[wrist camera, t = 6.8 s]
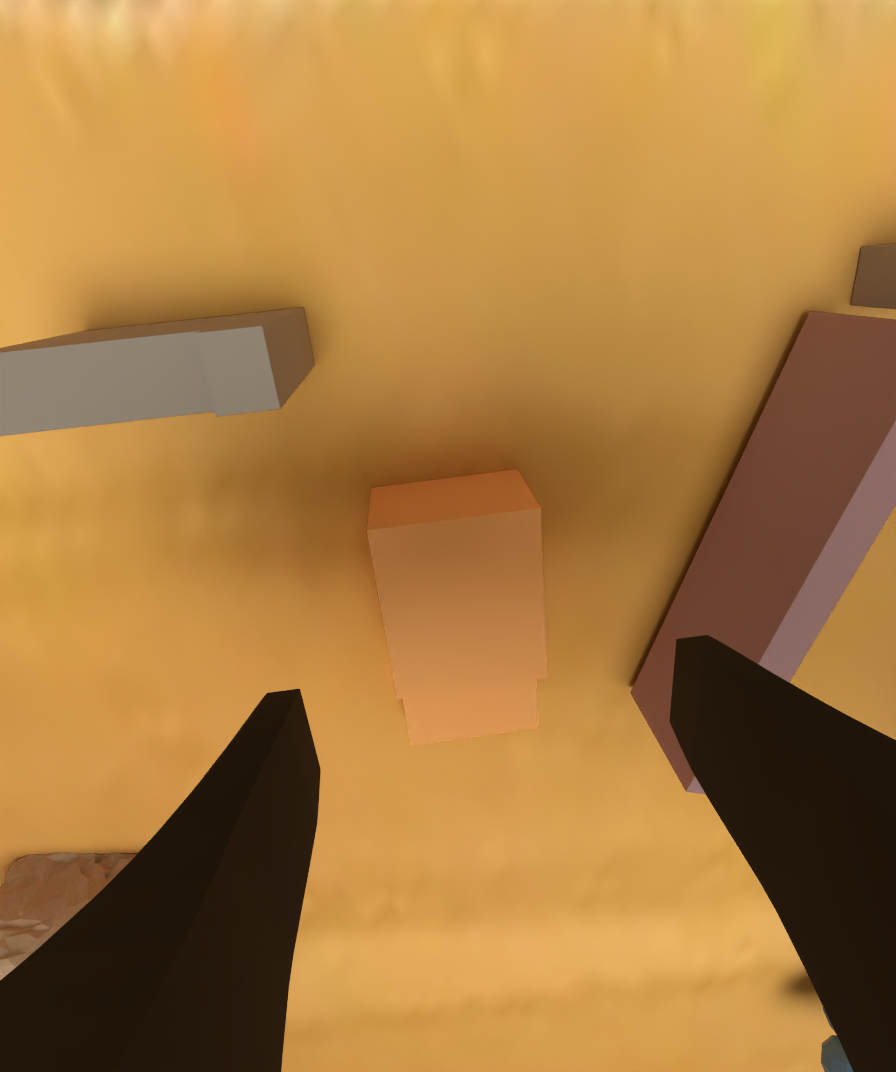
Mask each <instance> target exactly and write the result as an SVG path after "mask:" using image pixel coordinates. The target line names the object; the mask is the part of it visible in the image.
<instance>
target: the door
mask: <svg viewBox="0 0 896 1072" xmlns="http://www.w3.org/2000/svg"><path fill="white" fill-rule="evenodd" d="M895 505H896V320H894V319H884V318H875V317H865V316H855V315H845V314H836V313H826V312H816V311H810V312H809V314H808V316H807V319H806V321H805V323H804V325H803V327H802V329H801V331H800V333H799V336H798V338H797V340H796V342H795V344H794V346H793V348H792V350H791V353H790V355H789V357H788V359H787V361H786V363H785V365H784V367H783V370H782V372H781V374H780V376H779V378H778V380H777V382H776V384H775V387H774V389H773V391H772V393H771V395H770V397H769V399H768V401H767V404H766V406H765V408H764V410H763V412H762V414H761V416H760V418H759V421H758V423H757V425H756V427H755V429H754V431H753V433H752V435H751V438H750V440H749V442H748V444H747V446H746V448H745V450H744V452H743V455H742V457H741V459H740V461H739V463H738V465H737V467H736V469H735V472H734V474H733V476H732V478H731V480H730V482H729V484H728V486H727V489H726V491H725V493H724V495H723V497H722V499H721V501H720V503H719V506H718V508H717V510H716V512H715V514H714V516H713V518H712V520H711V523H710V525H709V527H708V529H707V531H706V533H705V535H704V537H703V540H702V542H701V544H700V546H699V548H698V550H697V552H696V554H695V557H694V559H693V561H692V563H691V565H690V567H689V569H688V571H687V574H686V576H685V578H684V580H683V582H682V584H681V586H680V588H679V591H678V593H677V595H676V597H675V599H674V601H673V603H672V605H671V608H670V610H669V612H668V614H667V616H666V618H665V620H664V622H663V625H662V627H661V629H660V631H659V633H658V635H657V637H656V639H655V642H654V644H653V646H652V648H651V650H650V652H649V654H648V656H647V659H646V661H645V663H644V665H643V667H642V669H641V671H640V673H639V676H638V678H637V680H636V682H635V684H634V686H633V688H632V690H631V695H632V696H633V698H634V700H635V702H636V703H637V705H638V707H639V709H640V711H641V712H642V714H643V716H644V718H645V719H646V721H647V723H648V725H649V727H650V728H651V730H652V732H653V734H654V735H655V737H656V739H657V741H658V743H659V744H660V746H661V748H662V750H663V751H664V753H665V755H666V757H667V759H668V760H669V762H670V764H671V766H672V767H673V769H674V771H675V773H676V775H677V776H678V778H679V780H680V782H681V783H682V785H683V787H684V789H685V791H686V792H693V793H700V794H705V792H704V790H703V789H702V787H701V785H700V784H699V782H698V780H697V779H696V777H695V775H694V774H693V772H692V770H691V768H690V766H689V764H688V762H687V760H686V758H685V755H684V753H683V751H682V749H681V747H680V745H679V742H678V740H677V738H676V735H675V733H674V731H673V729H672V726H671V724H670V722H669V720H670V708H671V696H672V684H673V672H674V661H675V649H676V639H679V638H687V637H695V636H702V635H709V636H711V637H713V638H714V639H716V640H718V641H720V642H722V643H723V644H725V645H727V646H729V647H730V648H732V649H734V650H735V651H737V652H739V653H740V654H742V655H744V656H745V657H747V658H749V659H750V660H752V661H754V662H755V663H757V664H759V665H760V666H762V667H764V668H765V669H767V670H769V671H770V672H772V673H774V674H775V675H777V676H779V677H780V678H782V679H784V680H786V681H787V682H790V681H791V679H792V677H793V676H794V674H795V672H796V671H797V669H798V667H799V666H800V664H801V662H802V661H803V659H804V657H805V656H806V654H807V652H808V651H809V649H810V647H811V646H812V644H813V642H814V641H815V639H816V637H817V636H818V634H819V632H820V631H821V629H822V627H823V626H824V624H825V622H826V621H827V619H828V617H829V616H830V614H831V612H832V611H833V609H834V607H835V606H836V604H837V602H838V601H839V599H840V597H841V596H842V594H843V592H844V591H845V589H846V587H847V585H848V584H849V582H850V580H851V579H852V577H853V575H854V574H855V572H856V570H857V569H858V567H859V565H860V564H861V562H862V560H863V559H864V557H865V555H866V554H867V552H868V550H869V549H870V547H871V545H872V544H873V542H874V540H875V539H876V537H877V535H878V534H879V532H880V530H881V529H882V527H883V525H884V524H885V522H886V520H887V519H888V517H889V515H890V514H891V512H892V510H893V509H894V507H895Z"/></svg>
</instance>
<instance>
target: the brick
mask: <svg viewBox="0 0 896 1072" xmlns="http://www.w3.org/2000/svg"><path fill="white" fill-rule="evenodd" d="M136 855H137V854H117V853H114V854H111V855H109V854H105V855H99V854H96V853H91V854H77V853H66V852H57V853H49V854H36V855H28V856H25V857H23V858H20V859H18V860H17V861H15V862H14V863H13V864H12V866H11V867H10V869H9V871H8V872H7V874H6V878H5V883H4V884H3V885H2V886H1V887H0V980H1V979H3V978H4V977H5V976H6V975H7V974H9V973H10V972H11V971H12V970H13V969H15V968H16V967H17V966H18V965H19V964H20V963H22V962H23V961H24V960H25V959H26V958H28V957H29V956H30V955H31V954H32V953H33V952H35V951H36V950H37V949H38V948H39V947H40V946H41V945H42V944H43V943H44V942H46V941H47V940H48V939H49V938H50V937H51V936H52V935H53V934H54V933H55V932H57V931H58V930H59V929H60V928H61V927H62V926H63V925H64V924H65V923H66V922H68V921H69V920H70V919H71V918H72V917H73V916H74V915H75V914H76V913H77V912H78V911H80V910H81V909H82V908H83V907H84V906H85V905H86V904H87V903H88V902H89V901H91V900H92V899H93V898H94V897H95V896H96V895H97V894H98V893H99V892H100V891H101V890H102V889H103V888H104V887H105V886H106V885H107V884H108V883H109V882H110V881H111V880H112V879H113V878H114V877H115V876H116V875H117V874H118V873H119V872H120V871H121V870H122V869H123V868H124V867H125V866H126V865H127V864H128V863H129V862H130V861H131V860H132V859H133V858H134V857H135V856H136Z"/></svg>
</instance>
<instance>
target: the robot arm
mask: <svg viewBox="0 0 896 1072" xmlns="http://www.w3.org/2000/svg"><path fill="white" fill-rule="evenodd" d="M669 722H670V724H671V726H672V729H673V731H674V733H675V735H676V738H677V740H678V742H679V745H680V747H681V749H682V751H683V753H684V755H685V758H686V760H687V762H688V764H689V766H690V768H691V770H692V772H693V774H694V775H695V777H696V779H697V780H698V782H699V784H700V785H701V787H702V789H703V790H704V792H705V794H706V795H707V797H708V799H709V800H710V802H711V804H712V805H713V807H714V808H715V810H716V812H717V813H718V815H719V817H720V818H721V820H722V821H723V823H724V825H725V826H726V828H727V830H728V831H729V833H730V834H731V836H732V838H733V839H734V841H735V842H736V844H737V846H738V847H739V849H740V851H741V852H742V854H743V855H744V857H745V859H746V860H747V862H748V864H749V865H750V867H751V868H752V870H753V872H754V873H755V875H756V876H757V878H758V880H759V881H760V883H761V885H762V886H763V888H764V890H765V892H766V894H767V895H768V897H769V899H770V901H771V902H772V904H773V906H774V908H775V909H776V911H777V913H778V915H779V917H780V919H781V921H782V923H783V925H784V927H785V929H786V931H787V933H788V935H789V937H790V939H791V941H792V943H793V945H794V947H795V949H796V951H797V953H798V955H799V957H800V959H801V961H802V963H803V965H804V967H805V969H806V971H807V973H808V975H809V977H810V980H811V982H812V984H813V986H814V988H815V990H816V992H817V994H818V996H819V999H820V1001H821V1003H822V1005H823V1007H824V1009H825V1011H826V1013H827V1015H828V1018H829V1020H830V1022H831V1024H832V1026H833V1028H834V1030H835V1032H836V1034H837V1037H838V1039H839V1041H840V1043H841V1045H842V1047H843V1050H844V1052H845V1054H846V1056H847V1059H848V1061H849V1063H850V1065H851V1068H852V1070H853V1072H896V740H894V739H892V738H890V737H888V736H886V735H884V734H882V733H880V732H878V731H876V730H874V729H873V728H871V727H869V726H867V725H865V724H863V723H861V722H859V721H857V720H855V719H853V718H851V717H850V716H848V715H846V714H844V713H842V712H840V711H838V710H836V709H835V708H833V707H831V706H829V705H827V704H826V703H824V702H822V701H820V700H818V699H817V698H815V697H813V696H811V695H810V694H808V693H806V692H804V691H803V690H801V689H799V688H798V687H796V686H794V685H792V684H791V683H789V682H787V681H786V680H784V679H782V678H780V677H779V676H777V675H775V674H774V673H772V672H770V671H769V670H767V669H765V668H764V667H762V666H760V665H759V664H757V663H755V662H754V661H752V660H750V659H749V658H747V657H745V656H744V655H742V654H740V653H739V652H737V651H735V650H734V649H732V648H730V647H729V646H727V645H725V644H723V643H722V642H720V641H718V640H716V639H714V638H713V637H711V636H709V635H702V636H695V637H687V638H679V639H676V649H675V661H674V672H673V684H672V696H671V708H670V720H669ZM319 786H320V766H319V762H318V758H317V754H316V750H315V746H314V742H313V738H312V735H311V731H310V727H309V723H308V719H307V715H306V711H305V707H304V703H303V699H302V696H301V692H300V689H294V690H287V691H279V692H271V693H267V694H266V695H265V696H264V698H263V699H262V700H261V701H260V703H259V704H258V705H257V707H256V708H255V709H254V711H253V712H252V713H251V715H250V716H249V718H248V719H247V720H246V722H245V723H244V724H243V726H242V727H241V728H240V730H239V731H238V733H237V734H236V735H235V737H234V738H233V739H232V741H231V742H230V743H229V745H228V746H227V747H226V749H225V750H224V751H223V753H222V754H221V755H220V757H219V758H218V759H217V760H216V762H215V763H214V764H213V765H212V767H211V768H210V769H209V771H208V772H207V773H206V774H205V776H204V777H203V778H202V780H201V781H200V782H199V783H198V785H197V786H196V787H195V788H194V790H193V791H192V792H191V793H190V794H189V796H188V797H187V798H186V799H185V800H184V802H183V803H182V804H181V805H180V806H179V807H178V809H177V810H176V811H175V812H174V813H173V814H172V816H171V817H170V818H169V819H168V820H167V821H166V823H165V824H164V825H163V826H162V827H161V829H160V830H159V831H158V832H157V833H156V834H155V835H154V836H153V837H152V839H151V840H150V841H149V842H148V843H147V844H146V845H145V846H144V847H143V848H142V850H141V851H140V852H139V853H138V854H137V855H136V856H135V857H134V858H133V859H132V860H131V861H130V862H129V863H128V864H127V865H126V866H125V867H124V868H123V869H122V870H121V871H120V872H119V873H118V874H117V875H116V876H115V877H114V878H113V879H112V880H111V881H110V882H109V883H108V884H107V885H106V886H105V887H104V888H103V889H102V890H101V891H100V892H99V893H98V894H97V895H96V896H95V897H94V898H93V899H92V900H91V901H89V902H88V903H87V904H86V905H85V906H84V907H83V908H82V909H81V910H80V911H78V912H77V913H76V914H75V915H74V916H73V917H72V918H71V919H70V920H69V921H68V922H66V923H65V924H64V925H63V926H62V927H61V928H60V929H59V930H58V931H57V932H55V933H54V934H53V935H52V936H51V937H50V938H49V939H48V940H47V941H46V942H44V943H43V944H42V945H41V946H40V947H39V948H38V949H37V950H36V951H35V952H33V953H32V954H31V955H30V956H29V957H28V958H26V959H25V960H24V961H23V962H22V963H20V964H19V965H18V966H17V967H16V968H15V969H13V970H12V971H11V972H10V973H9V974H7V975H6V976H5V977H4V978H3V979H1V980H0V1072H281V1066H282V1053H283V1043H284V1032H285V1022H286V1011H287V1000H288V990H289V981H290V974H291V967H292V960H293V953H294V948H295V942H296V937H297V932H298V926H299V921H300V915H301V910H302V904H303V899H304V893H305V888H306V883H307V877H308V872H309V866H310V861H311V855H312V849H313V844H314V838H315V832H316V826H317V817H318V803H319Z"/></svg>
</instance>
